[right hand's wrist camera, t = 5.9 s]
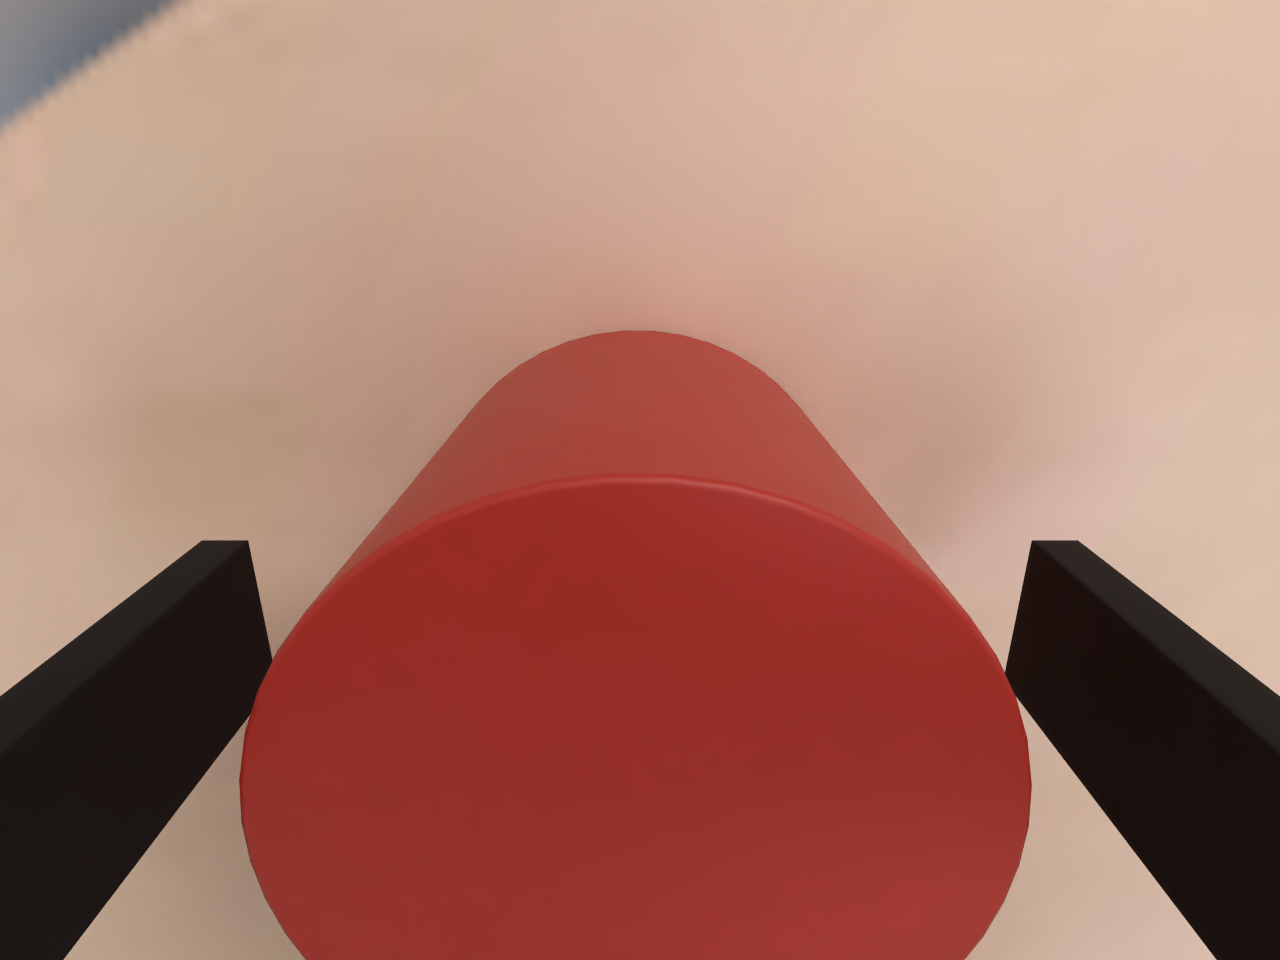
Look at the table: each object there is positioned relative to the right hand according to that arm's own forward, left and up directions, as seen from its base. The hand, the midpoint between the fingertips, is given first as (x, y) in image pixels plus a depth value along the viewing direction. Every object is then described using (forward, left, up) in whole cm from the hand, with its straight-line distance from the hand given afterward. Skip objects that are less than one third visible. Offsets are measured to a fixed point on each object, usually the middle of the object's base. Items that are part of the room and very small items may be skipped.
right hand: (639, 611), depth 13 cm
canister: (0, 0, -4) cm, 4 cm away
